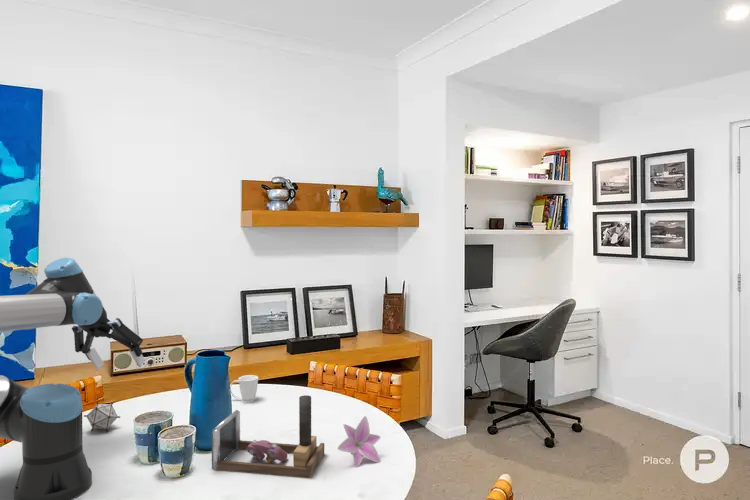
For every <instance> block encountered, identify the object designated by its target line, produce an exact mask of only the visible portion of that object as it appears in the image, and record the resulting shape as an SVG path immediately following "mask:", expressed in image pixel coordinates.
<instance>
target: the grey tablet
mask: <svg viewBox="0 0 750 500" xmlns="http://www.w3.org/2000/svg"><path fill="white" fill-rule="evenodd" d="M210 438H211V469H213V471H219V470H218V462H219V461H220V460H223V461H225V460H226V459H227V458H228V457H229V456H230V455H231V454H232V453H233V452H234V451H235V450H240V449H239V441H240V440H241V412H240V411H239V410H238V409H236V410H234V411H233V412H232V413H230V415H228V416H227V417H226V418H224V419H223V420H222V421H221V422H220V423H218V425H216V426H215V427H214V428H213V429H212V432H211V437H210ZM233 450H234V451H233ZM232 451H233V452H232ZM231 452H232V453H231ZM230 453H231V454H230ZM229 454H230V455H229ZM228 455H229V456H228ZM226 457H227V458H226ZM225 458H226V459H225ZM224 459H225V460H224Z"/></svg>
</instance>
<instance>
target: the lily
mask: <svg viewBox="0 0 750 500" xmlns="http://www.w3.org/2000/svg"><path fill="white" fill-rule="evenodd" d="M368 420H369V419H368V418H367V416H366V415H365V416H363V417H362V418H361V420H360V421H359V423H358V425H357V426H356V428H354V427H352V426H350V425H348V424H343V429H344V431H345V433H346V436H347V437H346V438H345V440H343V441H342V442H341V443H340V444H339V445H338V447H337V450H338V451H340V452H344V453H350V454H351V455H352V457H353V463H354V467H355V468H358V467H359V466H360V464H361V463H362V461H363V460H364V458H366V459H368V460H371V461H372V462H375V463H380V462H381V458H380V456H379V453H378V451H377V448H376V447H375V446H374V445H375V444H376V443H377V442H379V441H380V439H381V436H380V435H378V434H374V433H370V430H371V429H370V425H369V421H368Z"/></svg>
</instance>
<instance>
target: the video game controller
mask: <svg viewBox="0 0 750 500" xmlns="http://www.w3.org/2000/svg"><path fill="white" fill-rule="evenodd" d="M252 441H253V442H252V443H250V444H249V445H248V447H247V450H246V451H247V452H248V454H249V455H251V456H252V457H254V458H255V459H256V461H257V460H258V461H259V462H263V461H264V459H265V461H266V462H267V463H268V464H273V463H274V462H275V461H276V460H277V461H279V462H285V461H287V460H288V453H287V452H285V451H284V450H282V449H281V448H280V447H279V446H277V445H276V444H272V443H273V442H270V441H268V440H263V439H262V440H256V439H254V440H252Z"/></svg>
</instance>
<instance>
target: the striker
mask: <svg viewBox="0 0 750 500" xmlns="http://www.w3.org/2000/svg"><path fill="white" fill-rule="evenodd" d="M298 400H299V401H298V402H299V403H298V404H299V406H298V409H299V411H298V412H299V423H298V425H299V427H298V429H299V431H298V434H299V444H297V445H298V446H297V448H296V449H295V450H294V452H293V453H292V454H293V459H292V461H293V462H292V464H293V465H292V466H295V467H306V465H307V464H308V462H309V461H310V459H311V457H312V456H313V454H314V453H315V451H316V450H317V446H318V445H317V435H312V396H311V395H308V394H307V395H304V394H303V395H301V396H299V398H298Z"/></svg>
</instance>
